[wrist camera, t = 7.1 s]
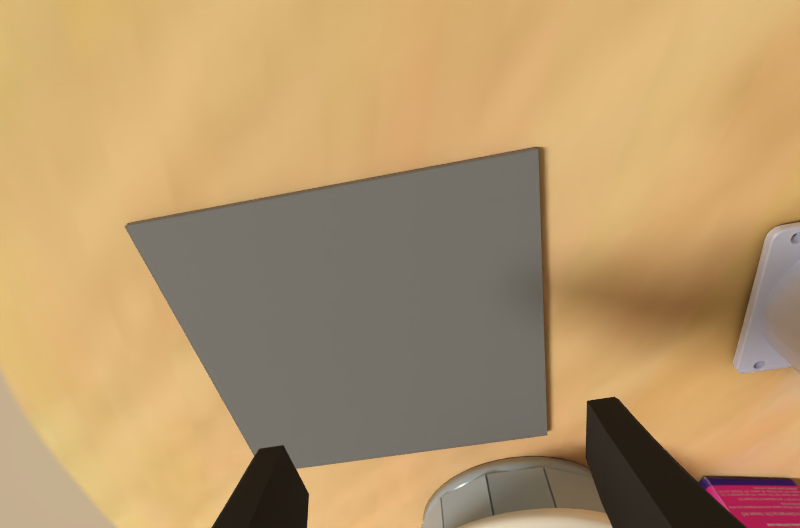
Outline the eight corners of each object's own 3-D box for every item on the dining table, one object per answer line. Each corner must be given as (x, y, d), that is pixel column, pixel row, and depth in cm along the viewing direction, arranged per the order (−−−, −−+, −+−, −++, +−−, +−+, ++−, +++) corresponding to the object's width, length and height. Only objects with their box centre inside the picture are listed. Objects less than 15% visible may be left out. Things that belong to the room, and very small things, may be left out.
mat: (536, 146, 17) (538, 149, 17) (545, 430, 25) (547, 435, 25) (128, 223, 18) (124, 226, 18) (265, 468, 26) (263, 472, 26)
